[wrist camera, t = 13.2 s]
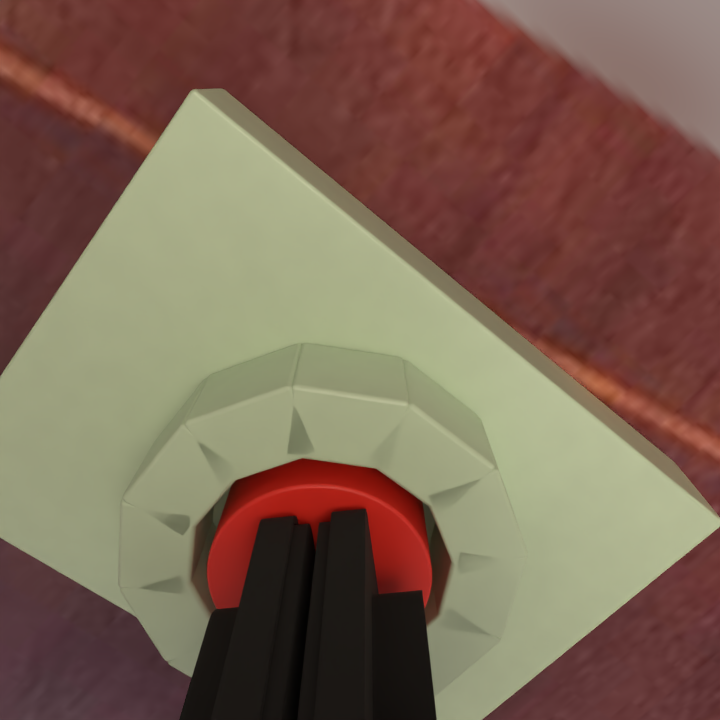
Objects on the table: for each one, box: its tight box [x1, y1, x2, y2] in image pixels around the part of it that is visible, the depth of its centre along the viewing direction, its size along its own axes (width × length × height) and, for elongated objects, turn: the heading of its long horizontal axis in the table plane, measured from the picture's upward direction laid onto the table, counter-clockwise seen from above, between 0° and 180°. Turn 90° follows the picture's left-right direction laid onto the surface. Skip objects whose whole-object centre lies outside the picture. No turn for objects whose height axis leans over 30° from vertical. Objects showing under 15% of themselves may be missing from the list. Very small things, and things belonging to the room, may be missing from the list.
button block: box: [0, 89, 720, 720], centre depth 13 cm, size 12×9×4 cm
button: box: [207, 458, 432, 609], centre depth 11 cm, size 4×4×2 cm
